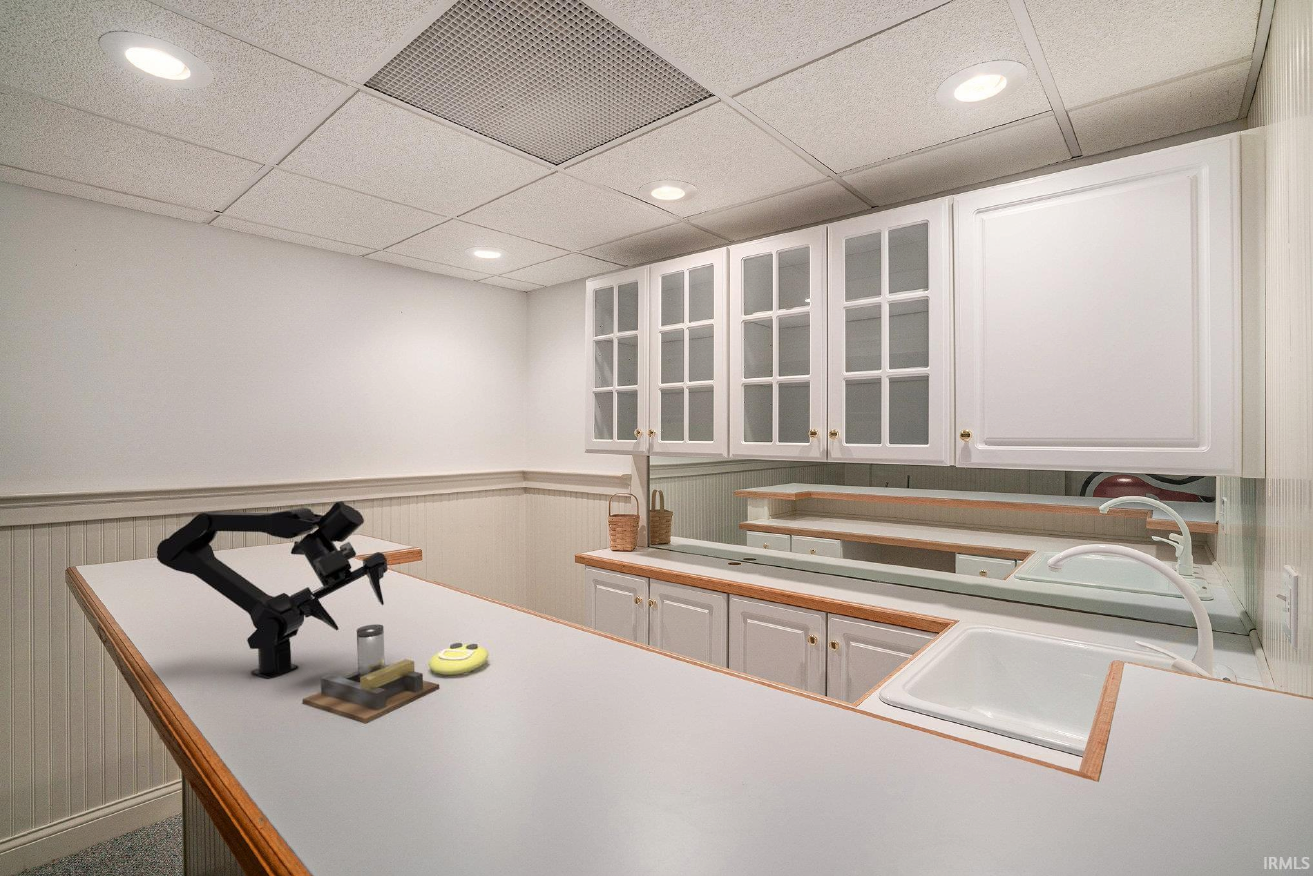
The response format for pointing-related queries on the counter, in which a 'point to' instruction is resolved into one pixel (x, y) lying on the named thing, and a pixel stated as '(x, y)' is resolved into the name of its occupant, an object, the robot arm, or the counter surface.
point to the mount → (368, 695)
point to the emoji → (458, 659)
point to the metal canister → (370, 649)
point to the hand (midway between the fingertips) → (360, 616)
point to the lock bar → (386, 674)
